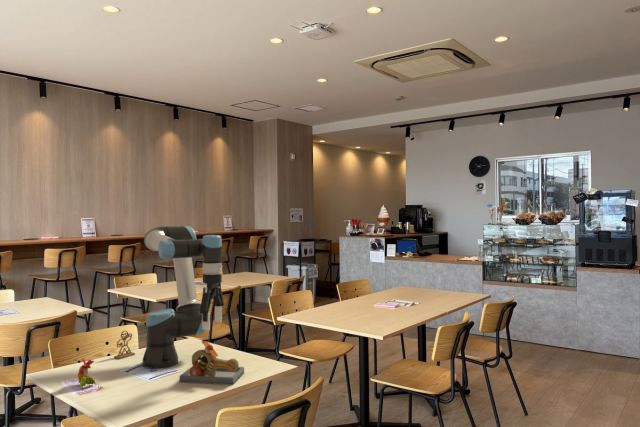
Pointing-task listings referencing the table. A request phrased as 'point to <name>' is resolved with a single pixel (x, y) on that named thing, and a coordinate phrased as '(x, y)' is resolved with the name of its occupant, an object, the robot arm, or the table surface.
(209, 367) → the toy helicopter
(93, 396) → the table surface
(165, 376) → the table surface
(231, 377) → the gray tray
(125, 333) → the wire human figurine
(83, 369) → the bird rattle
